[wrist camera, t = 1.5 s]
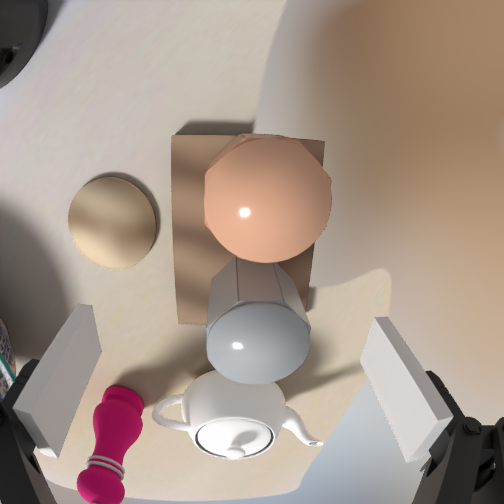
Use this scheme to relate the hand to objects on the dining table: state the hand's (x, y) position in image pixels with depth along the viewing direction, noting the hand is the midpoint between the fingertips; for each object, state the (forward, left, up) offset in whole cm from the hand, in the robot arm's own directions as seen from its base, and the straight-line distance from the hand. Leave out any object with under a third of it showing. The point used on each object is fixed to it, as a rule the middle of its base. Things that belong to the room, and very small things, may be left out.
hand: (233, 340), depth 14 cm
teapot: (+25, +1, -20) cm, 32 cm away
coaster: (+1, -13, -20) cm, 23 cm away
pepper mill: (+28, -16, -20) cm, 38 cm away
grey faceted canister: (+8, +2, -18) cm, 20 cm away
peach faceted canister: (-4, +2, -18) cm, 19 cm away
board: (+2, +1, -20) cm, 20 cm away
